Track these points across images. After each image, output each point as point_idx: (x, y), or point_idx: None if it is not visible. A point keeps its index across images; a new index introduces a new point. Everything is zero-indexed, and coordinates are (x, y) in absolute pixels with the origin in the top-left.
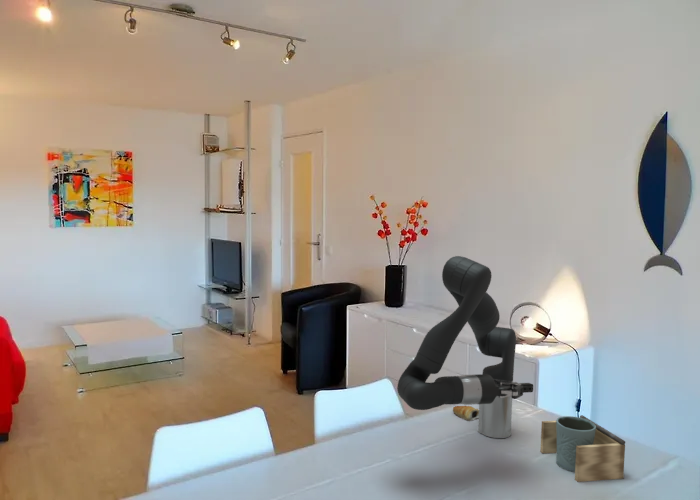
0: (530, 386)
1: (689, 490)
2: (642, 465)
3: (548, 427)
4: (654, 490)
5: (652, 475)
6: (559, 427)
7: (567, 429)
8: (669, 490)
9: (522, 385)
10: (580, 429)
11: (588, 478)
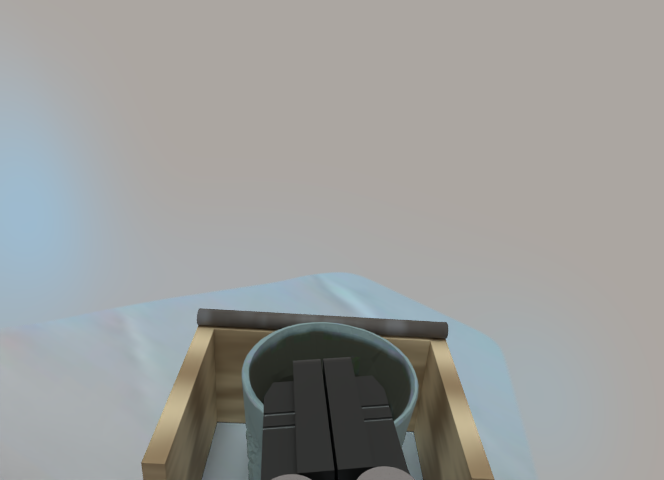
0: (386, 397)
1: (480, 337)
2: None
3: (175, 460)
4: (493, 395)
5: None
6: None
7: None
8: (487, 368)
9: (372, 462)
10: (289, 372)
11: None
